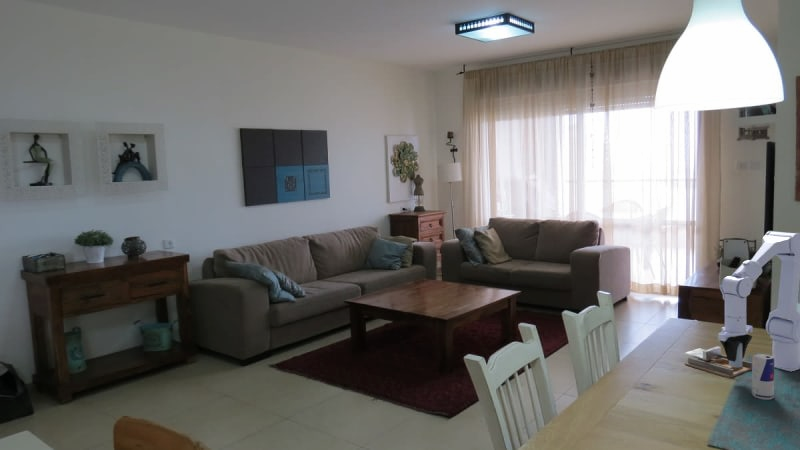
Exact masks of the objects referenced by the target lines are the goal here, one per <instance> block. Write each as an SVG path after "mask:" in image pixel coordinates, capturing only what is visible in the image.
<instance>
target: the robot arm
mask: <svg viewBox="0 0 800 450" xmlns="http://www.w3.org/2000/svg"><path fill="white" fill-rule="evenodd" d="M761 241H762V244H761V246H760V248H759V249H758V250H757V251H756V253H755V254H754V255H753V257H752V258H751V259H750V260H749V259H747V260H744V261H742V263H741V265H740V266H739V267H737V269H736V270H735V271H734V272H733V273H732V275H728V276H726V277H724V278H722V280H721V282H720V285H719V290H720V292H721V294H722V300H723V301H724V326H722V327H721V332H719V333H717V340H718V341H719V342H720V343H721V344H722V347H723V349H724V352H725V356H727V359H728V360H729V361H733V362H735V361H736V356H737V349H738V346H739V344H740V343H742V360H744V357H745V354H746V350H747V347H748V345H749V344H750V342H751V341H752V339H753V335H750V334H751V333H753V330H754V329H753V328H754V327H753V325H748V324H747V297H748V296H750V294H751V291H752V288H753V286H754V283H755V281H757V279H758V278H759V276H761V275H762V273H763V267H764V266H765V264H767V263H768V262H769V261H770V260H771V259H773V258H774V257H775V256H776V257H778V258H779V259H780V260H781V266H780V274H779V275H780V276H779V277H780V278H779V284H778V285H779V289H778V298H777V305H776V306H777V307H776V309H773V310H772V311H770V312H769V315H768V319H767V321H766V323H765V330H766V333H767V334H768V335H769V338H770V339H772V348H771V349H772V353H771V354H772V356H773V358H774V368H776V369H779V370H784V371H787V372H792V371H793V372H795V371H797V370H800V312H799V311H798V310H797V309H798V299H799V292H800V290H799V288H800V232H794V233H793V232H786V231H785V232H783V231H773V230H768V231H767V232H766V233H765V234H764V236H763V237H762V240H761ZM749 333H750V334H749Z"/></svg>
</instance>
